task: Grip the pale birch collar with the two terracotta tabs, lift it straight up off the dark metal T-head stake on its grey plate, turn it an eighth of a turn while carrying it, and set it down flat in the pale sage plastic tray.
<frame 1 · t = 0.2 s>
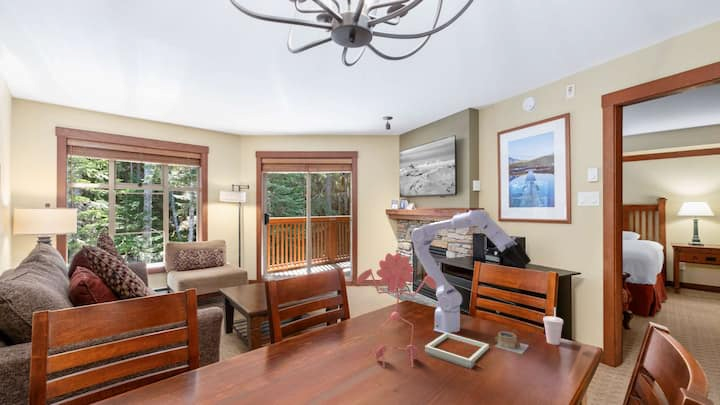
hand: (525, 264, 114), 30 cm above the table, tool tilted 45°, fingers open, 7 cm apart
stake: (507, 348, 117), on the table
smoothie: (553, 346, 119), on the table
tray: (457, 352, 113), on the table
collar: (507, 344, 117), point 1 cm above the table, touching stake
figurine: (395, 358, 109), on the table
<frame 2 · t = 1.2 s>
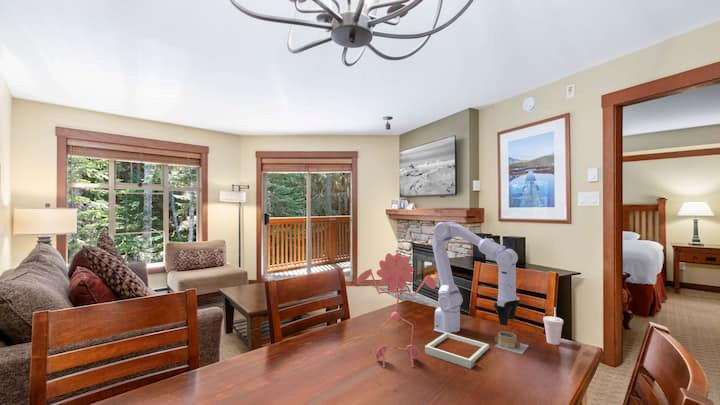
hand: (507, 321, 117), 9 cm above the table, tool pointing down, fingers open, 7 cm apart
nothing on the table moved.
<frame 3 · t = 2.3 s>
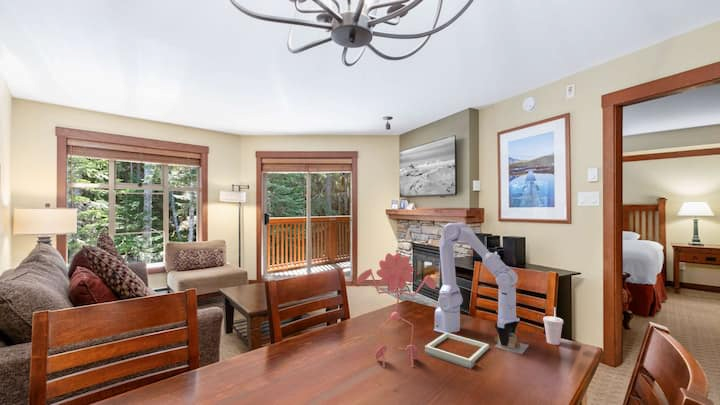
hand: (507, 342, 117), 2 cm above the table, tool pointing down, fingers closed on collar, 6 cm apart
collar: (507, 344, 117), point 1 cm above the table, touching gripper, stake
everything else where it was.
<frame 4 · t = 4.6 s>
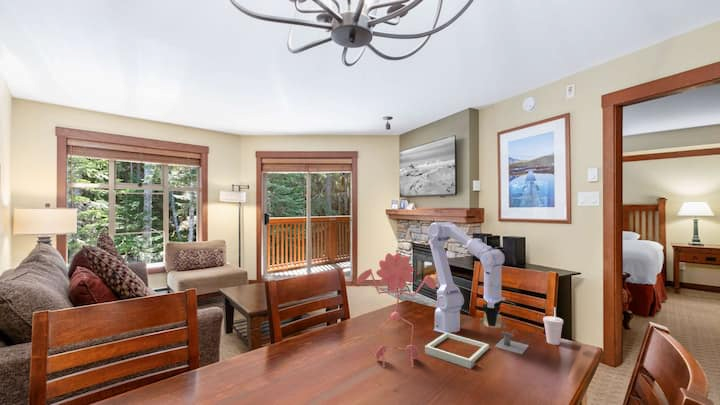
hand: (492, 322, 116), 9 cm above the table, tool pointing down, fingers closed on collar, 6 cm apart
collar: (492, 325, 116), point 9 cm above the table, touching gripper
everything else where it was.
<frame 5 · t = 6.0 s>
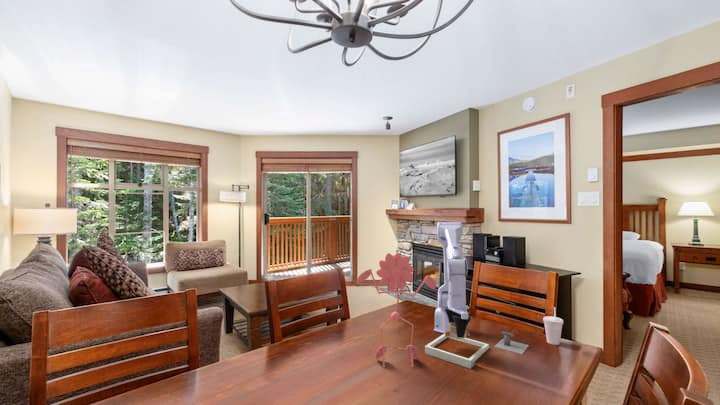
hand: (457, 333, 113), 7 cm above the table, tool pointing down, fingers closed on collar, 6 cm apart
collar: (457, 335, 113), point 6 cm above the table, touching gripper
everything else where it was.
when the fingers open (3 cm above the table, at t = 7.2 s): collar drops 1 cm, resting on tray.
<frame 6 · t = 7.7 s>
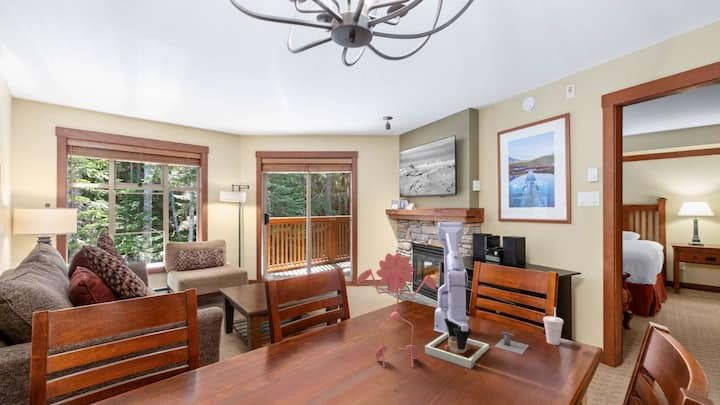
hand: (457, 344, 113), 3 cm above the table, tool pointing down, fingers open, 7 cm apart
collar: (457, 350, 113), point 1 cm above the table, touching tray
everything else where it was.
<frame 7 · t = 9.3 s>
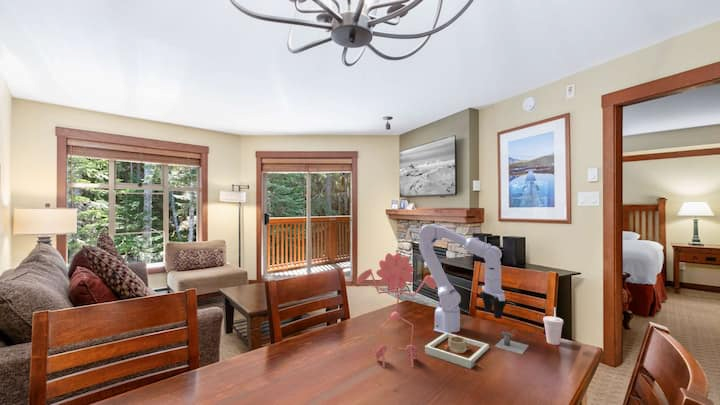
hand: (493, 314, 124), 9 cm above the table, tool pointing down, fingers open, 7 cm apart
nothing on the table moved.
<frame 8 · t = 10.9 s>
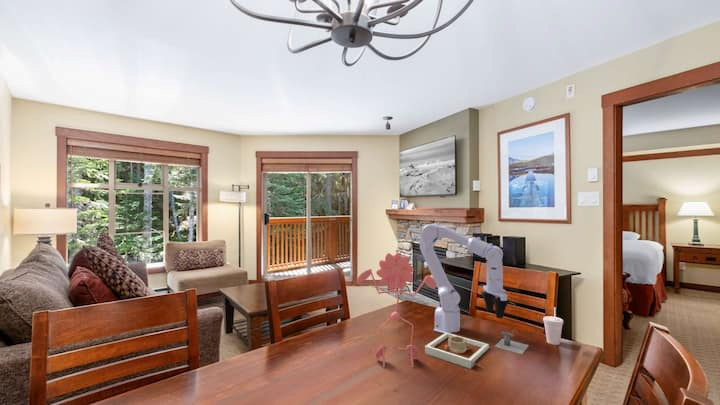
hand: (494, 314, 124), 9 cm above the table, tool pointing down, fingers open, 7 cm apart
nothing on the table moved.
at the end: collar inside the target area on the tray (0.1 cm from its centre), point 0.8 cm above the tray's base; collar tilted 0°; the gripper is holding nothing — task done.
